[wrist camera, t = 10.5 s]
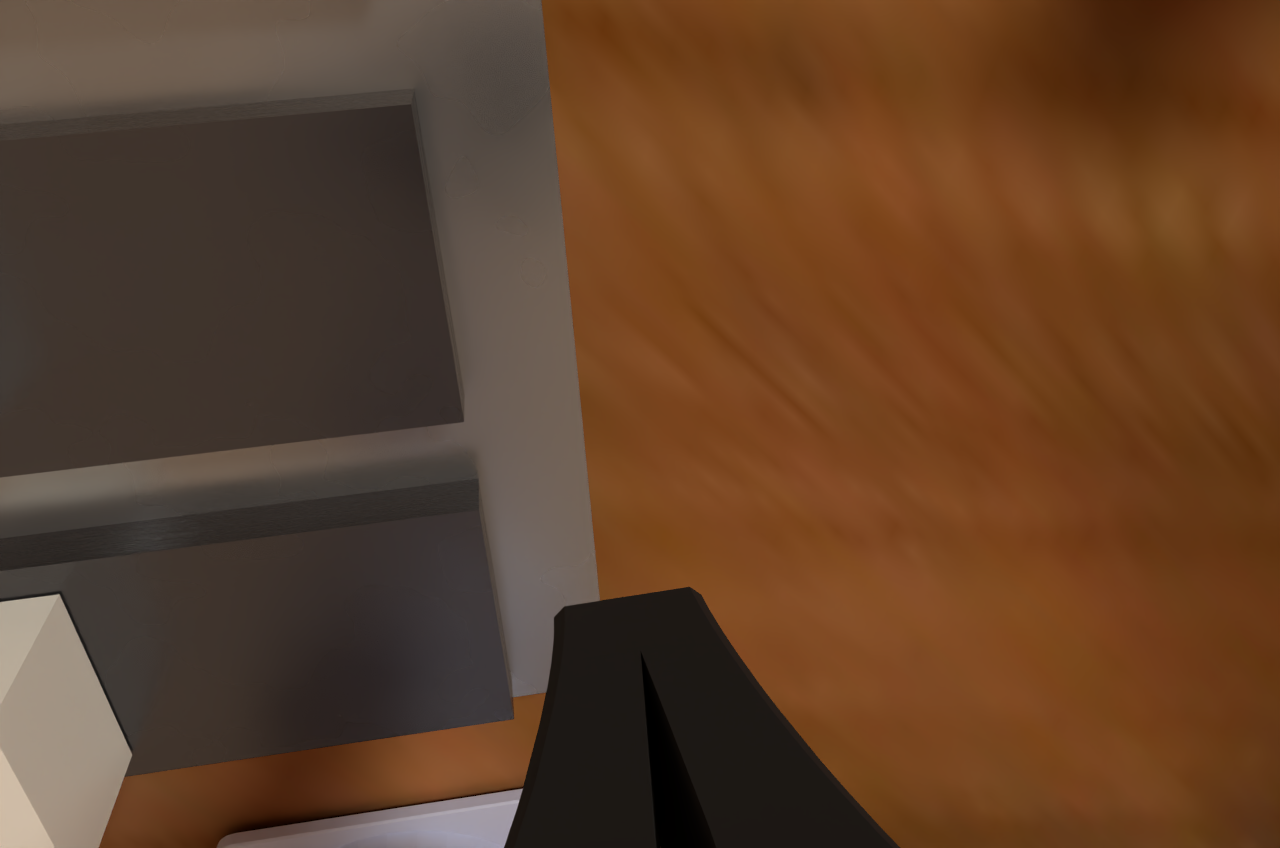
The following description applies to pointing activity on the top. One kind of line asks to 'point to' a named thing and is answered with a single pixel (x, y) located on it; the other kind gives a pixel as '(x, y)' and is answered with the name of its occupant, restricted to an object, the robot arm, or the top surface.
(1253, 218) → the top surface
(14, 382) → the breaker panel
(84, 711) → the block
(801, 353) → the top surface
